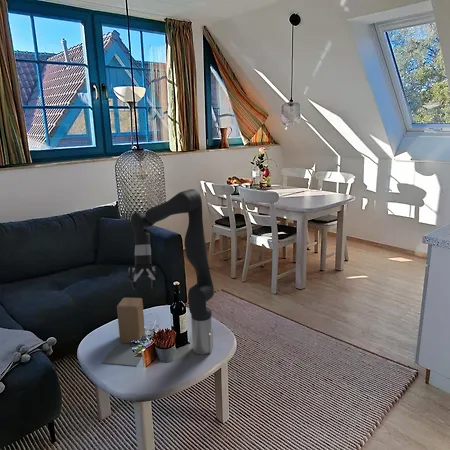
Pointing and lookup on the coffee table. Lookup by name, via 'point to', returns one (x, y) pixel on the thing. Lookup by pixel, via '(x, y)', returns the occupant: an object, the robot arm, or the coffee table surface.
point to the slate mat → (122, 356)
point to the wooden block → (130, 319)
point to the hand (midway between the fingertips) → (143, 289)
